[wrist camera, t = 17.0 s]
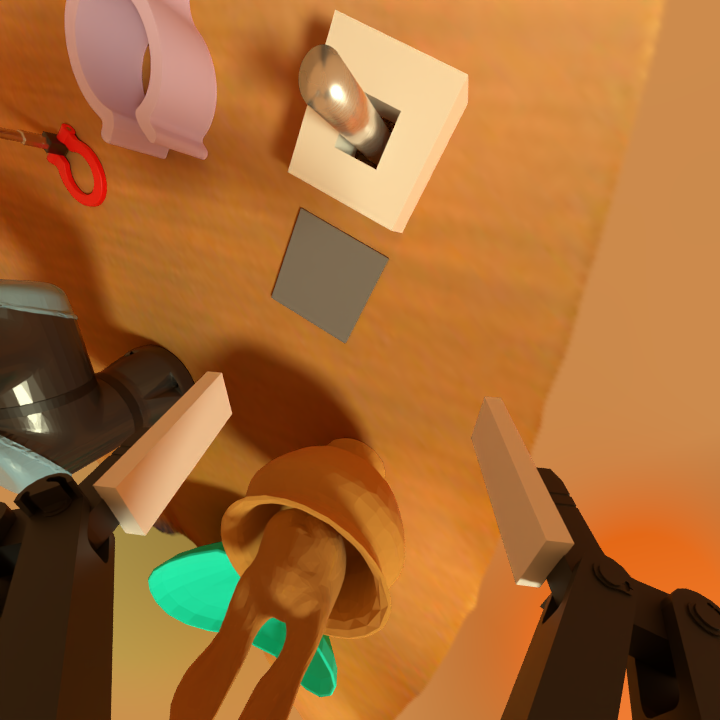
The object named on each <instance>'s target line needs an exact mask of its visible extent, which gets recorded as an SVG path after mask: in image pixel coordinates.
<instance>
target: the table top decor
mask: <svg viewBox="0 0 720 720" xmlns="http://www.w3.org/2000/svg"><path fill="white" fill-rule="evenodd" d="M239 579H240V576H239V575H238V573H237V572H236V570H235V569H234V567H233V566H232V564H231V562H230V560H229V558H228V556H227V555H226V552H225V549H224V546H223V543H222V542H217V543H212V544H208V545H204V546H200V547H197V548H194V549H192V550H189V551H185V552H182V553H179V554H177V555H176V556H174V557H173V558H171V559H169V560H167V561H166V562H164V563H163V564H161V565H160V566H158V567H156V568H155V569H154V570H153V571H152V573H151V575H150V576H149V579H148V582H149V588H150V592H151V594H152V595H153V597H154V599H155V601H156V602H157V603H158V605H159V606H160V607H161V608H162V609H163V610H164V611H165V612H166V613H167V614H168V615H170V616H172V617H174V618H175V619H177V620H179V621H181V622H183V623H185V624H187V625H191V626H194V627H197V628H201V629H204V630H207V631H213V632H219V630H220V627H221V625H222V622H223V620H224V617H225V615H226V612H227V609H228V606H229V603H230V600H231V598H232V595H233V593H234V590H235V588H236V585H237V583H238V581H239ZM285 639H286V623H284V622H282V621H279V620H277V619H276V618H270V619H269V620H268V621H267V622H266V623H265V624H264V625H263V626H262V627H261V628H260V630H259V631H258V633H257V635H256V636H255V638H254V640H253V643H252V645H254V646H255V647H258V648H259V649H261V650H263V651H265V652H267V653H269V654H271V655H273V656H275V657H276V658H278V656H279V654H280V652H281V650H282V648H283V645H284V643H285ZM336 682H337V666H336V662H335V658H334V654H333V650H332V646H331V643H330V639H329V636H327V635H324V634H323V636H322V638H321V641H320V643H319V645H318V648H317V650H316V652H315V654H314V656H313V658H312V660H311V662H310V664H309V666H308V668H307V670H306V672H305V674H304V676H303V679H302V681H301V685H302V686H303V687H304V688H305V689H306V690H308V691H310V692H312V693H313V694H315V695H317V696H319V697H324V696H330V695H332V693H333V691H334V689H335V687H336Z"/></svg>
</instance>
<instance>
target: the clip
mask: <svg viewBox="0 0 720 720" xmlns="http://www.w3.org/2000/svg"><path fill="white" fill-rule="evenodd" d="M65 36H66V44H67V50H68V55H69V59H70V63H71V66H72V70H73V73H74V75H75V78H76V81H77V83H78V85H79V87H80V90H81V92H82V93H83V95H84V97H85V99H86V100H87V102H88V103H89V105H90V106H91V108H92V109H93V110H94V111H95V113H96V114H97V115H98V116H99V117H100V118H101V120H102V123H103V126H102V131H101V136H102V138H103V140H104V141H105V142H106V143H109V144H112V145H116V146H119V147H123V148H126V149H130V150H133V151H137V152H141V153H144V154H148V155H151V156H155V157H158V158H162V159H165V158H166V156H167V154H168V151H169V149H172V150H175V151H178V152H181V153H184V154H187V155H190V156H193V157H196V158H199V159H202V160H205V159H206V158H207V156H208V152H207V149H206V148H205V146H204V144H203V138H204V136H205V135H206V133H207V132H208V130H209V128H210V126H211V123H212V120H213V117H214V113H215V108H216V98H217V85H216V76H215V70H214V65H213V62H212V58H211V55H210V52H209V50H208V47H207V45H206V43H205V41H204V39H203V38H202V36H201V34H200V33H199V32H198V30H197V29H196V27H195V25H194V22H193V20H192V17H191V12H190V4H189V0H66V7H65ZM148 44H149V48H150V56H151V74H150V82H149V87H148V90H147V93H146V96H145V95H144V90H143V84H142V63H143V57H144V54H145V50H146V48H147V46H148Z"/></svg>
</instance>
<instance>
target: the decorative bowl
mask: <svg viewBox="0 0 720 720" xmlns="http://www.w3.org/2000/svg"><path fill="white" fill-rule="evenodd" d="M384 478H385V468H384V465H383V462H382V460H381V459H380V458H379V456H378V455H377V453H376V452H375V451H374V450H373V449H371V448H370V447H369V446H367V445H366V444H364V443H363V442H361V441H358V440H355V439H350V438H340V439H336V440H333V441H332V442H331V443H329V444H328V445H327V446H324V445H323V446H310V447H305V448H302V449H298V450H295V451H292V452H289V453H286V454H284V455H282V456H280V457H277V458H275V459H273V460H272V461H270V462H269V463H268V464H266V465H265V466H264V467H262V468H261V469H260V470H258V472H257V473H256V474H255V476H254V477H253V478H252V480H251V482H250V484H249V487H248V490H247V493H246V497H245V498H243V499H240V500H237V501H236V502H234V503H233V504H232V505H231V506H229V507H228V509H227V510H226V512H225V514H224V515H223V517H222V522H221V538H222V543H223V546H224V549H225V552H226V555H227V556H228V558H229V560H230V562H231V564H232V566H233V567H234V569H235V570H236V572H237V573H238V575H239V576H240V579H239V581H238V583H237V585H236V588H235V590H234V593H233V595H232V598H231V600H230V603H229V606H228V609H227V612H226V615H225V617H224V620H223V622H222V625H221V627H220V630H219V632H218V634H217V635H216V637H215V638H214V639H213V641H212V643H211V644H210V645H209V646H208V647H207V648H206V649H205V651H204V652H203V653H202V654H201V655H200V656H199V657H198V658H197V659H196V661H194V663H193V664H192V665H191V666H190V667H189V668H188V670H187V671H186V673H185V675H184V676H183V679H182V680H181V682H180V684H179V685H178V687H177V689H176V692H175V694H174V697H173V700H172V703H171V709H170V720H214V718H215V716H216V715H217V713H218V711H219V709H220V707H221V705H222V703H223V701H224V699H225V697H226V695H227V693H228V691H229V689H230V688H231V686H232V684H233V682H234V680H235V679H236V676H237V675H238V673H239V671H240V669H241V667H242V665H243V663H244V660H245V658H246V656H247V654H248V652H249V650H250V647H251V645H252V643H253V640H254V638H255V636H256V635H257V633H258V631H259V630H260V628H261V627H262V626H263V625H264V624H265V623H266V622H267V621H268V620H269V619H270V618H276V619H277V620H279V621H282V622H284V623H286V639H285V643H284V645H283V648H282V650H281V652H280V654H279V656H278V658H277V659H276V661H275V662H274V663H273V665H272V666H271V668H270V669H269V670H268V671H267V673H266V674H265V675H264V676H263V677H262V678H261V679H260V681H259V682H258V684H257V685H256V687H255V689H254V691H253V693H252V694H251V696H250V698H249V700H248V702H247V704H246V706H245V708H244V710H243V712H242V714H241V715H240V717H239V719H238V720H287V719H288V717H289V714H290V711H291V709H292V706H293V703H294V700H295V697H296V695H297V692H298V689H299V686H300V684H301V681H302V679H303V676H304V674H305V672H306V670H307V668H308V666H309V664H310V662H311V660H312V658H313V656H314V654H315V652H316V650H317V648H318V645H319V643H320V641H321V638H322V636H323V634H324V635H327V636H331V637H336V638H346V639H356V638H364V637H367V636H370V635H373V634H375V633H376V632H378V631H379V630H380V629H382V628H383V627H384V625H385V624H386V622H387V621H388V619H389V616H390V611H391V596H390V592H389V588H390V587H391V586H392V585H393V584H394V582H395V581H396V580H397V579H398V577H399V575H400V573H401V571H402V568H403V565H404V560H405V539H404V529H403V524H402V520H401V516H400V512H399V509H398V505H397V502H396V500H395V497H394V494H393V492H392V491H391V489H390V487H389V485H388V484H387V482H386V481H385V480H384Z"/></svg>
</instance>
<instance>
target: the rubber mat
mask: <svg viewBox="0 0 720 720" xmlns="http://www.w3.org/2000/svg"><path fill="white" fill-rule="evenodd" d="M388 259H389V258H387V257H386V256H384V255H382V254H380V253H379V252H377V251H375V250H373V249H372V248H370V247H368V246H367V245H365V244H363V243H361V242H360V241H358V240H356V239H354V238H353V237H351V236H349V235H347V234H346V233H344V232H342V231H341V230H339V229H337V228H335V227H334V226H332V225H330V224H328V223H327V222H325V221H323V220H321V219H320V218H318V217H316V216H315V215H313V214H311V213H309V212H308V211H306V210H304V209H302V208H301V209H300V213H299V216H298V219H297V222H296V225H295V228H294V231H293V234H292V237H291V240H290V243H289V246H288V249H287V252H286V255H285V258H284V261H283V264H282V267H281V270H280V273H279V276H278V279H277V282H276V285H275V288H274V291H273V294H272V297H271V298H273V299H274V300H276V301H278V302H279V303H281V304H282V305H284V306H286V307H287V308H289V309H290V310H292V311H294V312H295V313H297V314H299V315H300V316H302V317H303V318H305V319H307V320H308V321H310V322H311V323H313V324H315V325H316V326H318V327H319V328H321V329H323V330H324V331H326V332H327V333H329V334H331V335H332V336H334V337H335V338H337V339H339V340H340V341H342V342H343V343H346V342H347V340H348V338H349V336H350V334H351V332H352V330H353V328H354V326H355V324H356V322H357V320H358V318H359V316H360V314H361V312H362V310H363V309H364V307H365V305H366V303H367V301H368V299H369V297H370V295H371V293H372V291H373V289H374V287H375V285H376V283H377V281H378V279H379V277H380V275H381V273H382V271H383V269H384V267H385V265H386V263H387V261H388Z"/></svg>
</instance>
